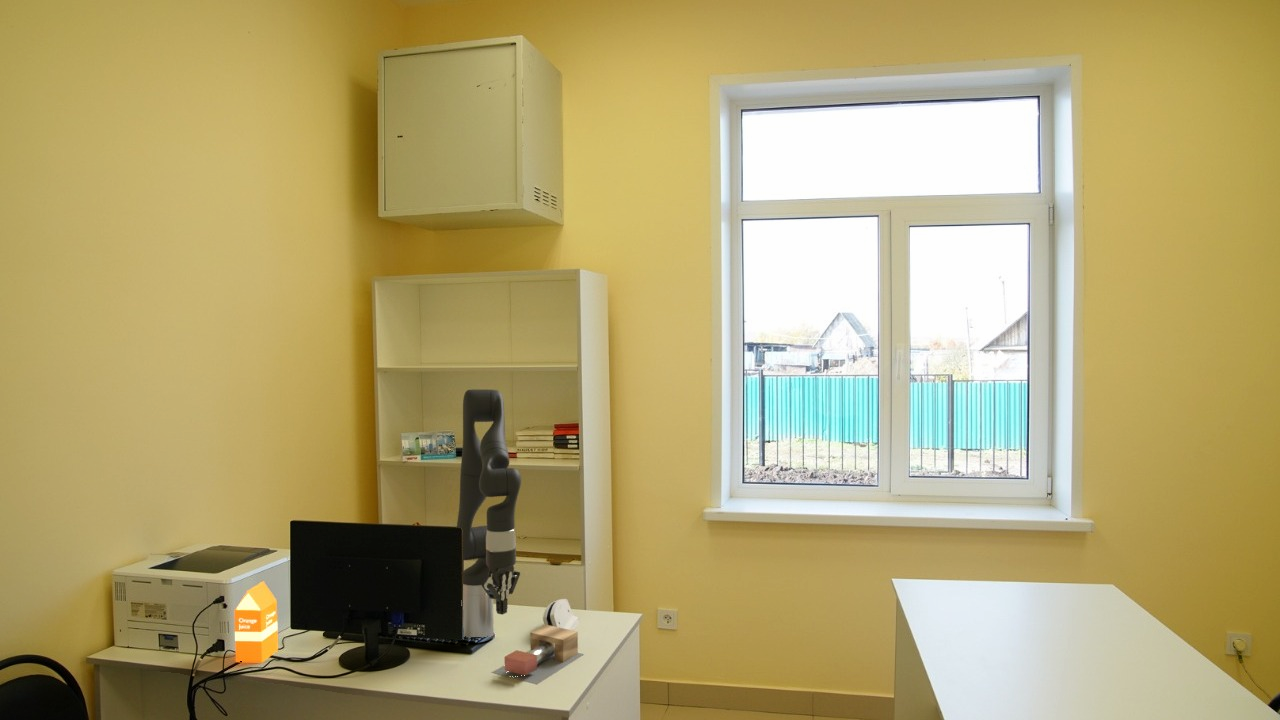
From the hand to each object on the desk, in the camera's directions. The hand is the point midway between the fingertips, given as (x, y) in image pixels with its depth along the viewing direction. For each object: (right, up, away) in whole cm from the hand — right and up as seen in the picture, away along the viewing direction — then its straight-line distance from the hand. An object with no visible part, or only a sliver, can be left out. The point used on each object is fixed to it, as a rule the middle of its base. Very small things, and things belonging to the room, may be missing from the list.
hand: (501, 613), depth 208 cm
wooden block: (+11, -18, +20) cm, 29 cm away
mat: (+8, -18, +14) cm, 25 cm away
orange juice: (-72, -19, +21) cm, 78 cm away
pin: (+6, -18, +12) cm, 22 cm away
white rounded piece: (+11, -18, +38) cm, 44 cm away
